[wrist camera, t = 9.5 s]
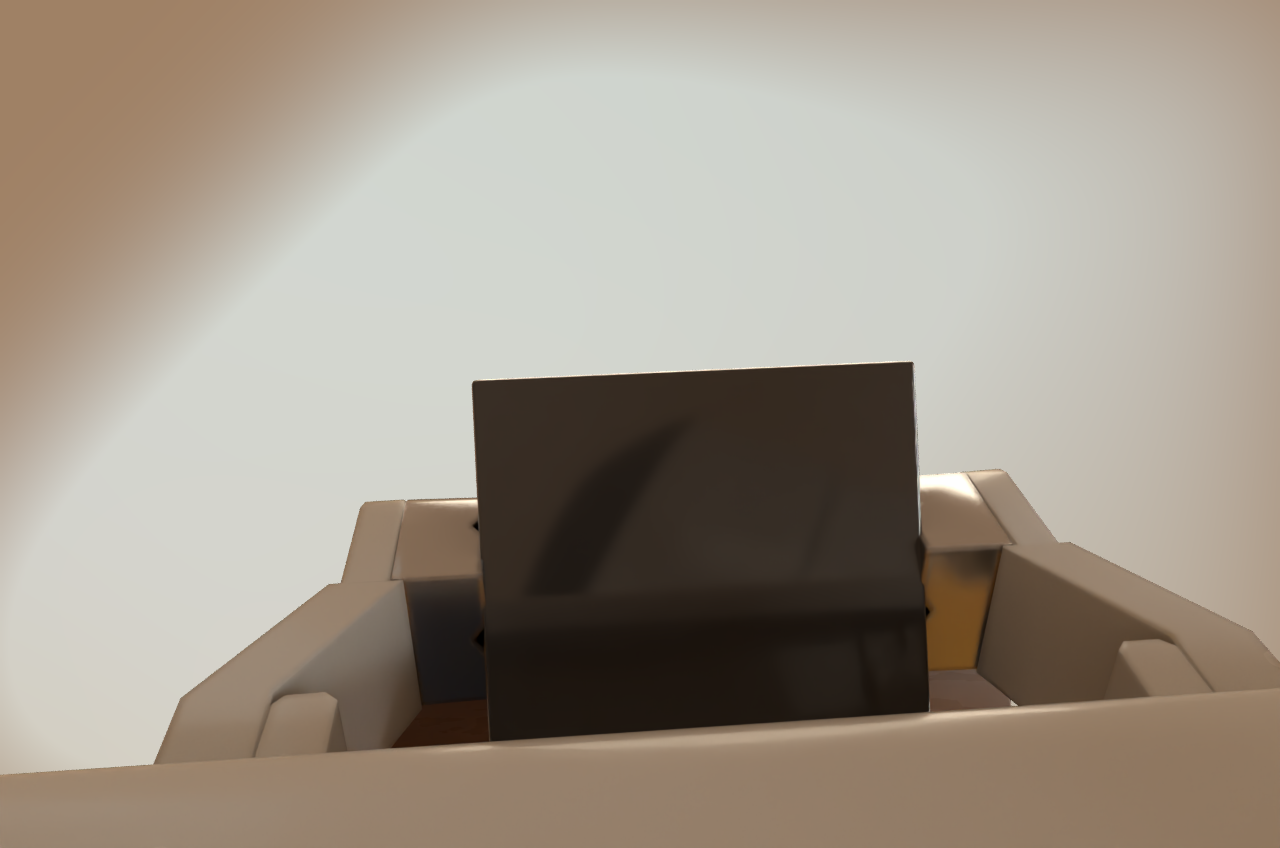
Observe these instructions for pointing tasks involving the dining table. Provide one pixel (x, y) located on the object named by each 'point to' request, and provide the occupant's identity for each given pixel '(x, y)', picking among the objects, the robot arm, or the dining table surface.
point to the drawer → (700, 548)
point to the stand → (472, 716)
